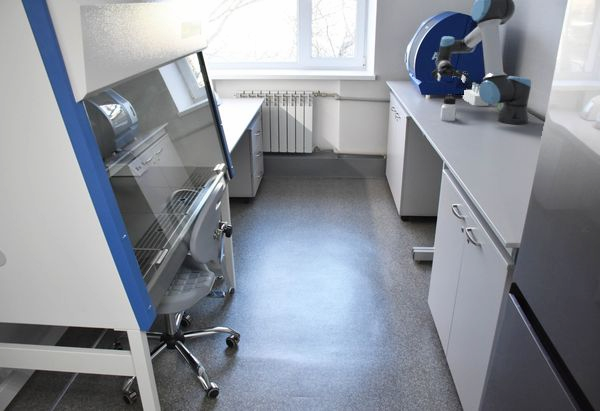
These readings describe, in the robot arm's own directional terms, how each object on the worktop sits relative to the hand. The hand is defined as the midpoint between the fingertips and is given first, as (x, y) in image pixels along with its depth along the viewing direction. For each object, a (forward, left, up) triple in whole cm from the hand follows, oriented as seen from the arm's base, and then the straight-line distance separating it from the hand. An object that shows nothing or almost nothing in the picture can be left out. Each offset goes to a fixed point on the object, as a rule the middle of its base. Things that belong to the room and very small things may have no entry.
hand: (452, 79), depth 265 cm
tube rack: (+18, -45, -20) cm, 53 cm away
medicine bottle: (-5, +6, -20) cm, 22 cm away
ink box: (-7, -40, -20) cm, 46 cm away
